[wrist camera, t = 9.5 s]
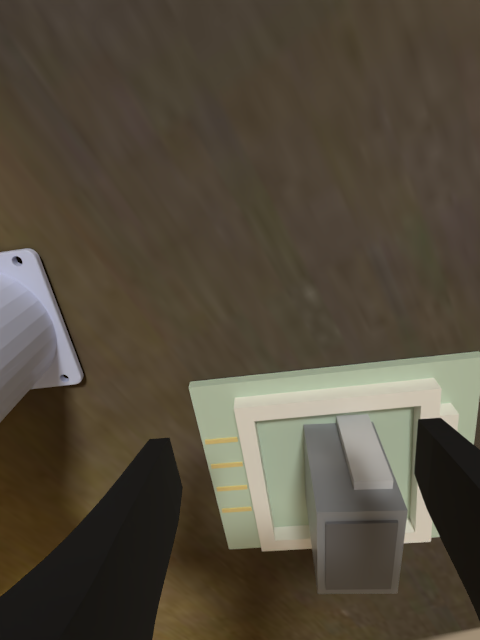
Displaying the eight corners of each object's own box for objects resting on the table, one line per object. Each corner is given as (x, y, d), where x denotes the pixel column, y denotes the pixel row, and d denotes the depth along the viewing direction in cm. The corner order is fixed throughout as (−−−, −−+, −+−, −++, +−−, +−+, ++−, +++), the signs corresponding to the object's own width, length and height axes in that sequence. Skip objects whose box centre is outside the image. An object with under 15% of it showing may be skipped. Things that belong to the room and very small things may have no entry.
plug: (305, 497, 26) (318, 596, 20) (303, 416, 23) (317, 506, 18) (368, 495, 26) (398, 596, 20) (373, 413, 23) (409, 504, 17)
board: (229, 541, 29) (228, 563, 27) (190, 381, 23) (185, 398, 22) (458, 527, 27) (469, 549, 26) (478, 351, 21) (494, 367, 20)
